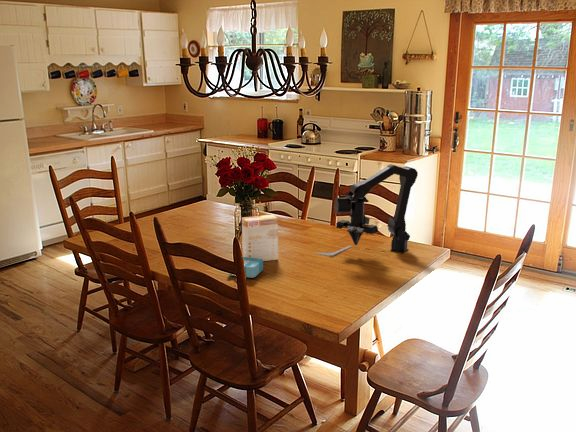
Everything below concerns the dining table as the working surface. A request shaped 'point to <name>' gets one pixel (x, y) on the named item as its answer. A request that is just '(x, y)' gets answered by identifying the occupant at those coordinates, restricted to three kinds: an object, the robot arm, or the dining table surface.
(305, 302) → the dining table surface
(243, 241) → the coffeecake box
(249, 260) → the data package
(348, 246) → the grey boomerang
